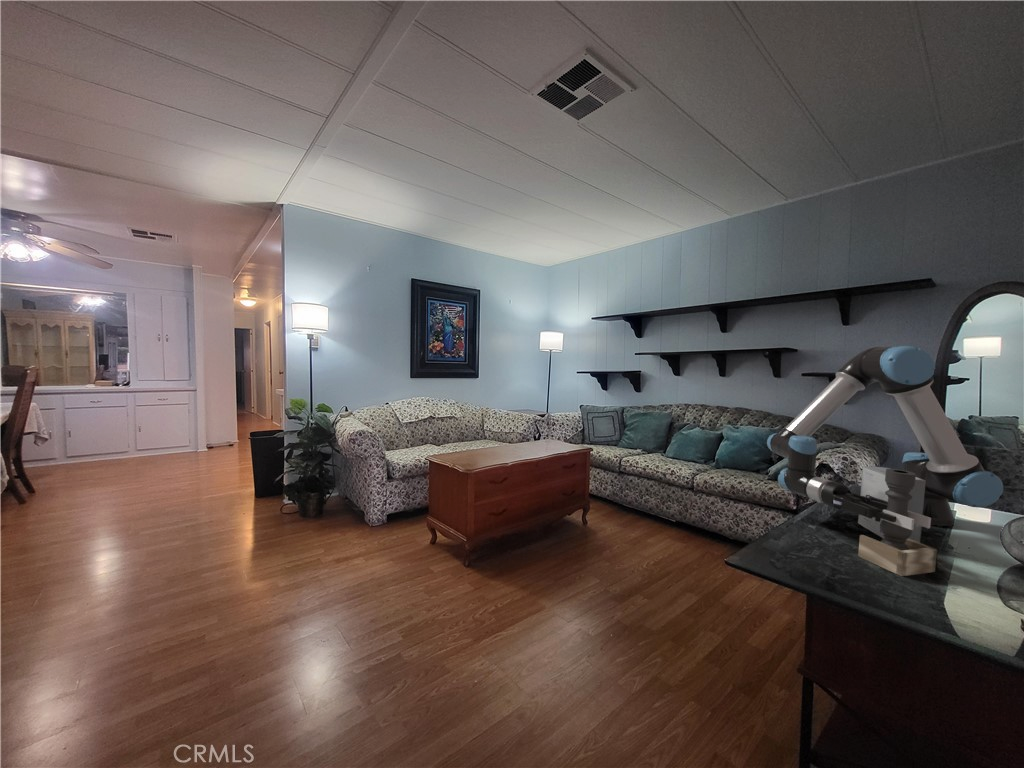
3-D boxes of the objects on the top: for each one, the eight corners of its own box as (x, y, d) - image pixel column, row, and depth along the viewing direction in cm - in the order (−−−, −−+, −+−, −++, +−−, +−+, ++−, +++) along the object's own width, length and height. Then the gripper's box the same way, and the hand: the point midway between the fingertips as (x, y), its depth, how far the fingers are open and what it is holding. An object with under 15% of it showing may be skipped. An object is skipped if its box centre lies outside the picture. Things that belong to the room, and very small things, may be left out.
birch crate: (889, 552, 111) (891, 532, 111) (934, 571, 101) (937, 549, 101) (858, 556, 109) (859, 535, 108) (901, 576, 99) (903, 553, 98)
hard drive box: (921, 547, 115) (927, 480, 114) (890, 544, 117) (896, 478, 115) (882, 525, 130) (888, 466, 129) (856, 523, 132) (861, 464, 130)
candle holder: (877, 554, 110) (885, 467, 108) (908, 563, 106) (917, 472, 104) (876, 562, 106) (884, 471, 104) (908, 571, 101) (917, 476, 100)
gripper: (850, 502, 124) (945, 535, 102) (804, 506, 121) (892, 541, 98) (852, 479, 124) (948, 507, 101) (806, 482, 120) (895, 511, 97)
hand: (920, 523), depth 100 cm, fingers closed on candle holder, 5 cm apart
